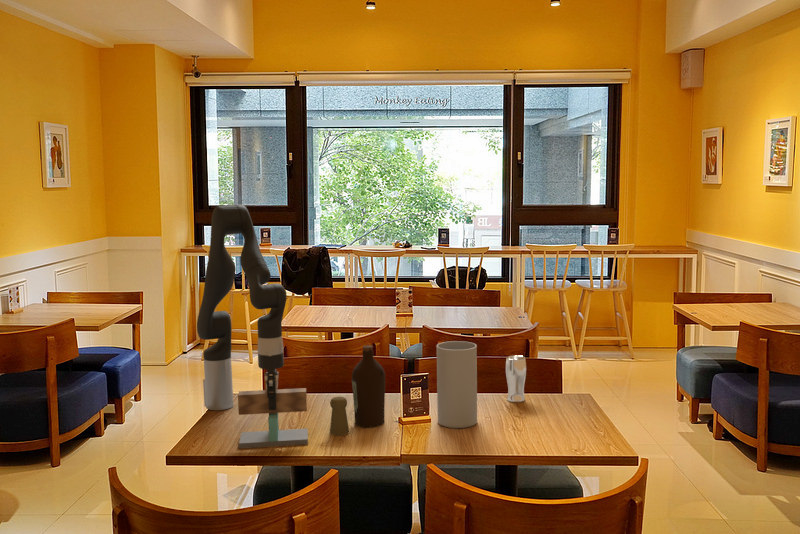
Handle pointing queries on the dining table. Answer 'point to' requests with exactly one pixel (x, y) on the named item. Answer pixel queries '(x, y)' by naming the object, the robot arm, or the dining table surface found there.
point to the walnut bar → (260, 405)
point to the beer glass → (515, 377)
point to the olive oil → (368, 390)
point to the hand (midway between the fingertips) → (272, 407)
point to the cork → (339, 416)
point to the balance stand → (273, 436)
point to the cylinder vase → (457, 384)
